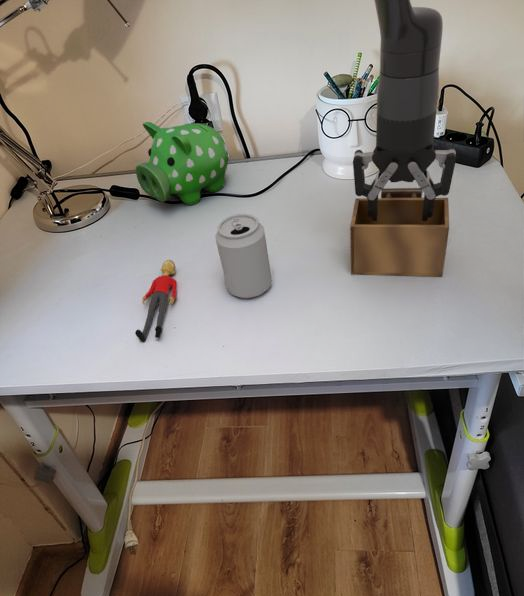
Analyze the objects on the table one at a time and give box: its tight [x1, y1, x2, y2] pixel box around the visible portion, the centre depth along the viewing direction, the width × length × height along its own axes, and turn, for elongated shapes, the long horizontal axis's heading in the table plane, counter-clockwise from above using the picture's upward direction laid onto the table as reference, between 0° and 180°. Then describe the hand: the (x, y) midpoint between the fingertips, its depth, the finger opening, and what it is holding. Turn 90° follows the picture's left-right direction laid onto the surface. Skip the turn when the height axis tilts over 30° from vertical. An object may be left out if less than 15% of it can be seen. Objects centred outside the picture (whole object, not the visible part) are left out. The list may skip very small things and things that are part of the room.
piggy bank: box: [135, 121, 229, 206], centre depth 103 cm, size 14×18×15 cm
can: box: [214, 213, 273, 299], centre depth 79 cm, size 8×8×12 cm
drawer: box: [349, 187, 450, 278], centre depth 81 cm, size 14×9×13 cm
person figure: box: [134, 259, 178, 343], centre depth 82 cm, size 5×4×18 cm
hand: (399, 218), depth 77 cm, fingers open, 6 cm apart
